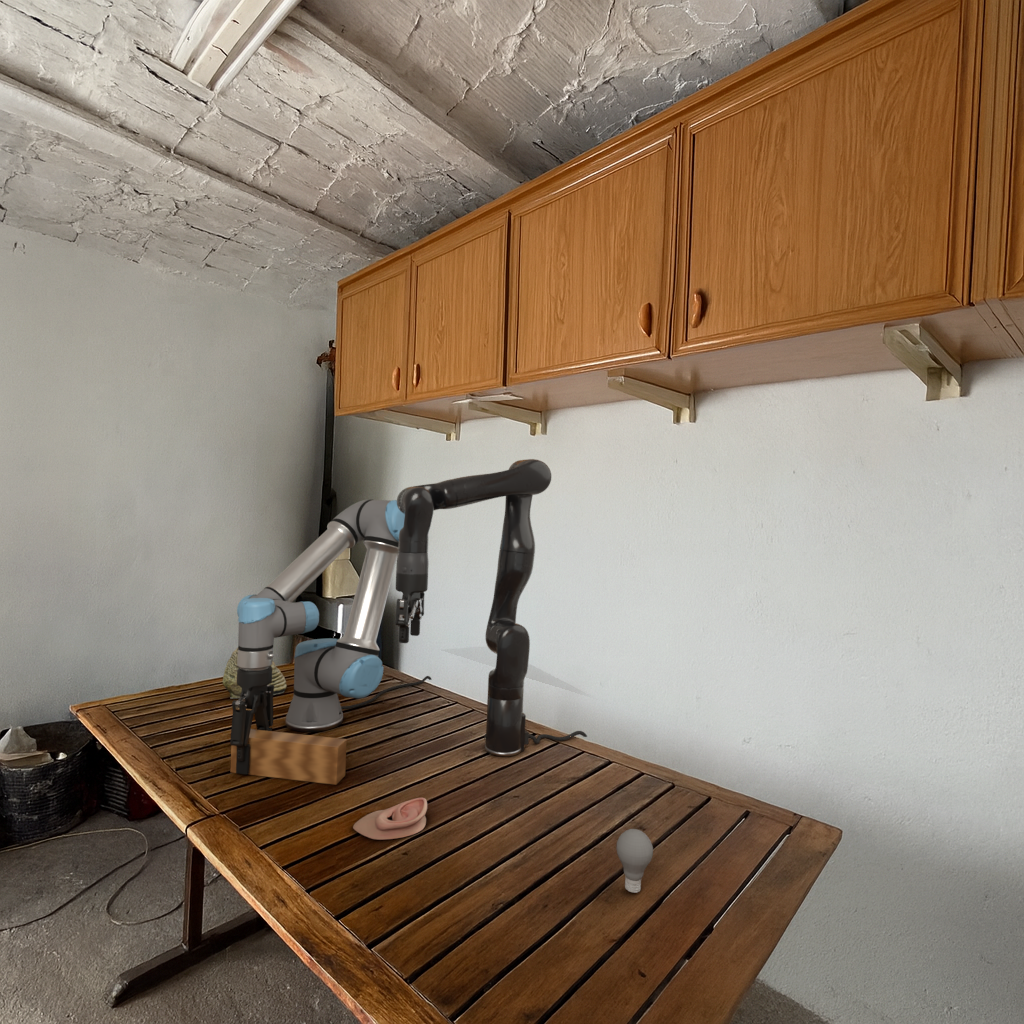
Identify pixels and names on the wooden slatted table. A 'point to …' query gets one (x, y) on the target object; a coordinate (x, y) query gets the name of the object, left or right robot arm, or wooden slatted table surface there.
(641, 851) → the light bulb
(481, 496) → the right robot arm
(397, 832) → the anatomical model
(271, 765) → the bar
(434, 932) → the wooden slatted table surface
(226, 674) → the fossil
